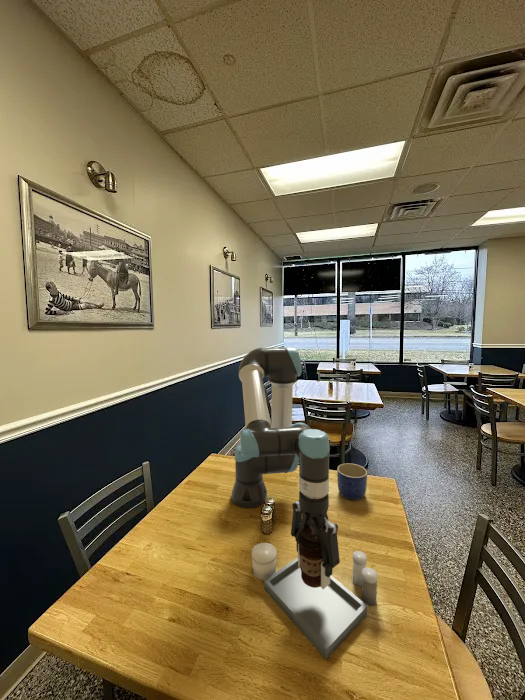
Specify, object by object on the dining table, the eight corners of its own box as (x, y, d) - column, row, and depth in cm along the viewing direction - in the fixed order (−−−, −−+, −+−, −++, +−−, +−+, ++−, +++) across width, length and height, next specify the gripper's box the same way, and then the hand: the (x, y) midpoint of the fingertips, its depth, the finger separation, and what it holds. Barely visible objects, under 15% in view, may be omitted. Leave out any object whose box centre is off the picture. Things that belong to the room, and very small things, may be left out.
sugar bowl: (247, 568, 88) (246, 550, 87) (266, 556, 92) (265, 539, 92) (262, 585, 82) (261, 566, 82) (281, 571, 87) (281, 553, 86)
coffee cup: (330, 596, 71) (330, 546, 70) (296, 590, 73) (296, 542, 72) (329, 567, 80) (330, 523, 79) (299, 562, 82) (299, 519, 80)
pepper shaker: (358, 598, 78) (359, 572, 77) (366, 590, 80) (367, 565, 79) (371, 609, 75) (372, 582, 74) (379, 600, 77) (380, 574, 76)
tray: (264, 588, 81) (264, 580, 81) (304, 560, 91) (304, 552, 90) (326, 659, 64) (326, 649, 63) (367, 614, 73) (367, 605, 73)
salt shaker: (349, 579, 84) (350, 555, 83) (357, 572, 86) (357, 548, 85) (361, 589, 81) (361, 563, 80) (368, 581, 83) (369, 556, 82)
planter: (369, 491, 128) (370, 467, 127) (362, 506, 117) (363, 480, 116) (341, 483, 134) (342, 460, 133) (333, 496, 124) (333, 472, 123)
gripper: (277, 480, 80) (277, 557, 82) (336, 517, 64) (335, 612, 66) (296, 471, 85) (296, 545, 87) (356, 504, 69) (355, 594, 71)
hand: (313, 574), depth 76 cm, fingers closed on coffee cup, 7 cm apart
